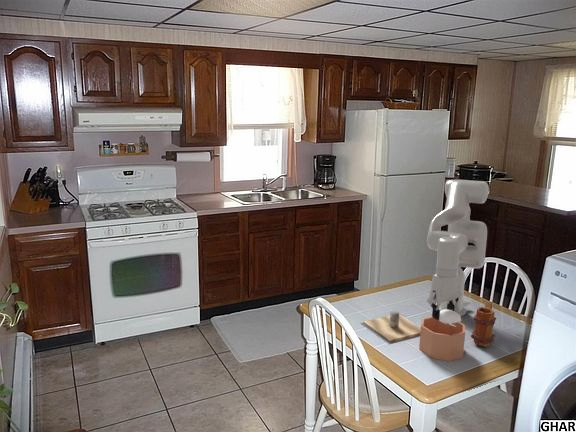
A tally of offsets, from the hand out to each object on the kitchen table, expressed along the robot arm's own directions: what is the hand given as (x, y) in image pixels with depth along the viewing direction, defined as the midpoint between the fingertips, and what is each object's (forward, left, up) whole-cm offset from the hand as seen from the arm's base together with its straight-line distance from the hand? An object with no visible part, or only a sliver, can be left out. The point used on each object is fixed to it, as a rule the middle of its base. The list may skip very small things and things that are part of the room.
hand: (442, 316), depth 173 cm
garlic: (0, +3, -1) cm, 3 cm away
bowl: (-2, -1, -15) cm, 15 cm away
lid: (+4, -22, -14) cm, 27 cm away
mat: (+4, -22, -15) cm, 27 cm away
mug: (-22, +1, -15) cm, 26 cm away
